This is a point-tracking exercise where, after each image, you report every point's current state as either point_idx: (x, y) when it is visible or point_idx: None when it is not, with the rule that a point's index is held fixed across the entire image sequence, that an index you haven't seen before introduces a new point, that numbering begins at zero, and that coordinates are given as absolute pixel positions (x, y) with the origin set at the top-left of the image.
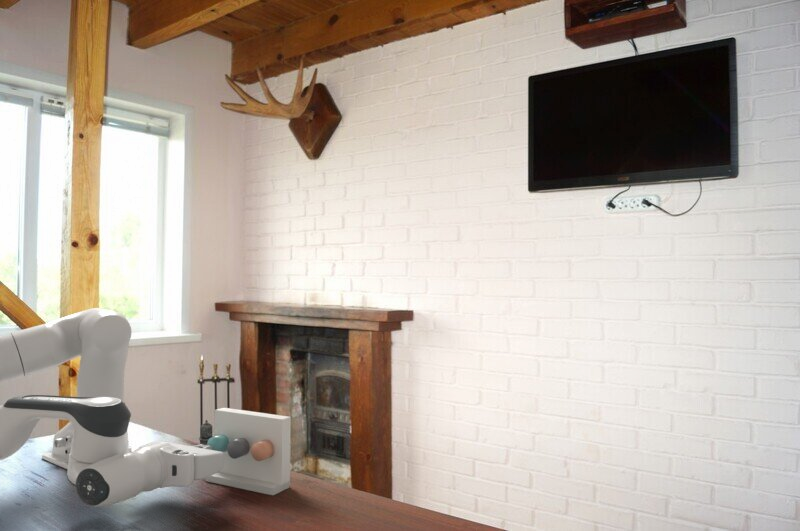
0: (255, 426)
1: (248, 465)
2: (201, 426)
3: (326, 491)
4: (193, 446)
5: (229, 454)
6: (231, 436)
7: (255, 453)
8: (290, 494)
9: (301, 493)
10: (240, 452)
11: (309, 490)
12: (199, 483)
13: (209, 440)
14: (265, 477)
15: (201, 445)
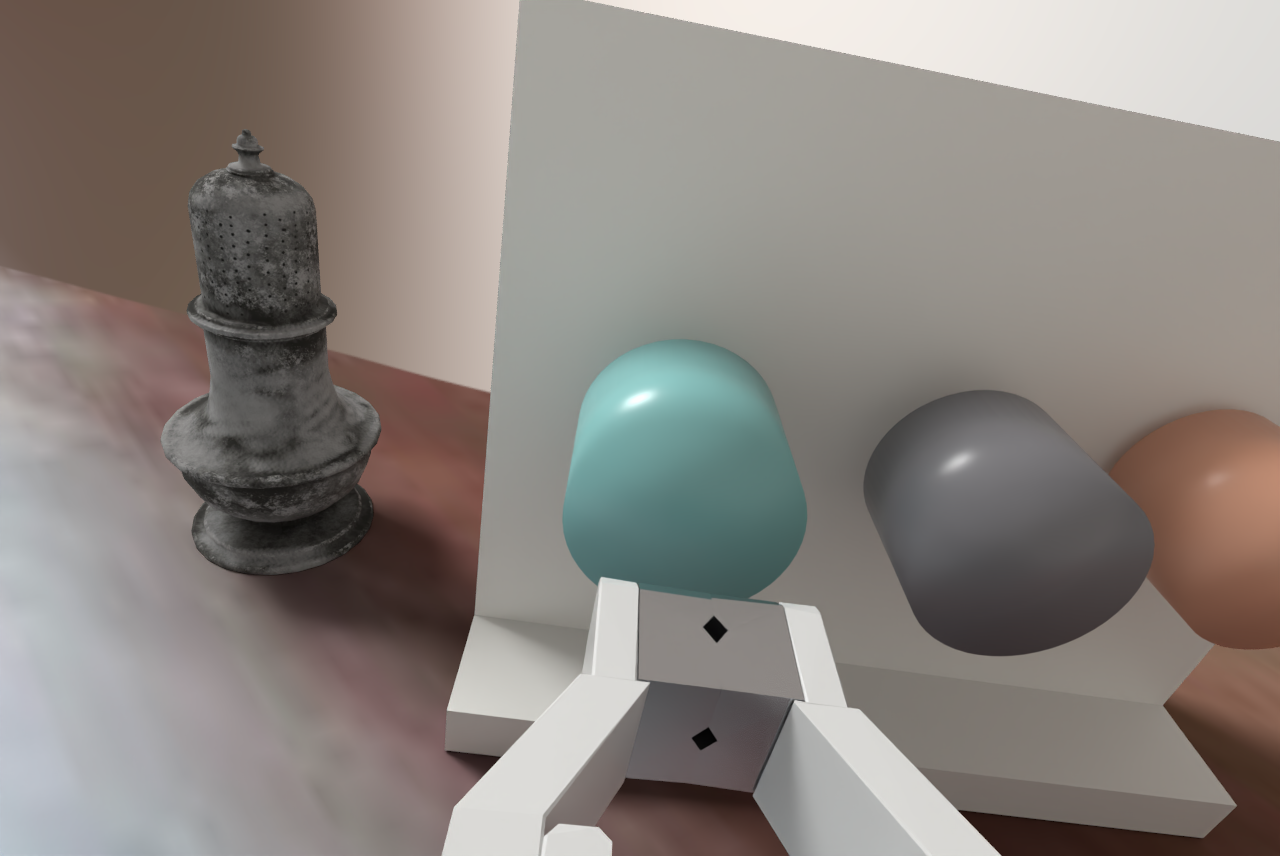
0: (1138, 262)
1: (884, 591)
2: (206, 199)
3: (1276, 650)
4: (593, 753)
5: (929, 615)
6: (745, 349)
7: (1248, 587)
8: (1235, 767)
9: (1248, 725)
10: (1124, 605)
11: (1208, 666)
12: (428, 825)
13: (619, 457)
14: (1030, 666)
15: (667, 637)
